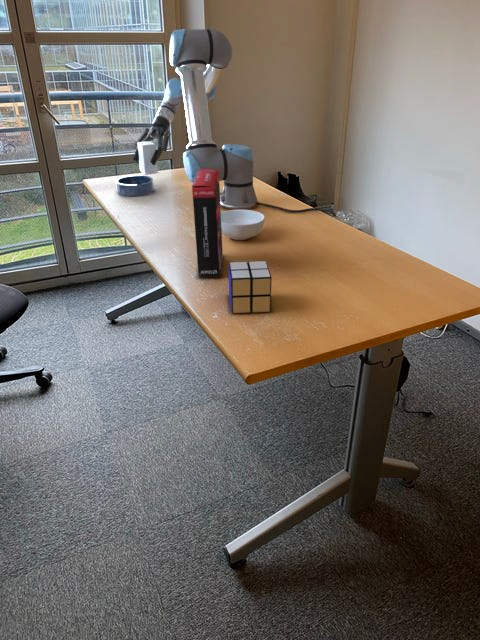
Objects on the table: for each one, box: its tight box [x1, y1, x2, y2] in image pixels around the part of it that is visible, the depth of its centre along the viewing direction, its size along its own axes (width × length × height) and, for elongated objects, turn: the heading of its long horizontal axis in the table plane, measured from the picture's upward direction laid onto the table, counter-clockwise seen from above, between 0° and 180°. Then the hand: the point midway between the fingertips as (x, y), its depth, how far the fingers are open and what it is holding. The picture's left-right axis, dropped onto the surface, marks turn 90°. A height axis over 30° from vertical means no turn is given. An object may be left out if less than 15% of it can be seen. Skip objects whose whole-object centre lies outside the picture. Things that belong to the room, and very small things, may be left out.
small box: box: [136, 140, 159, 176], centre depth 229 cm, size 8×6×13 cm
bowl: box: [115, 174, 155, 197], centre depth 220 cm, size 16×16×5 cm
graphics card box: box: [191, 170, 224, 279], centre depth 146 cm, size 17×7×27 cm, turn 179°
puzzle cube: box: [228, 260, 273, 315], centre depth 130 cm, size 10×10×10 cm
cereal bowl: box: [221, 209, 266, 241], centre depth 173 cm, size 17×17×7 cm
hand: (143, 162), depth 228 cm, fingers closed on small box, 10 cm apart
